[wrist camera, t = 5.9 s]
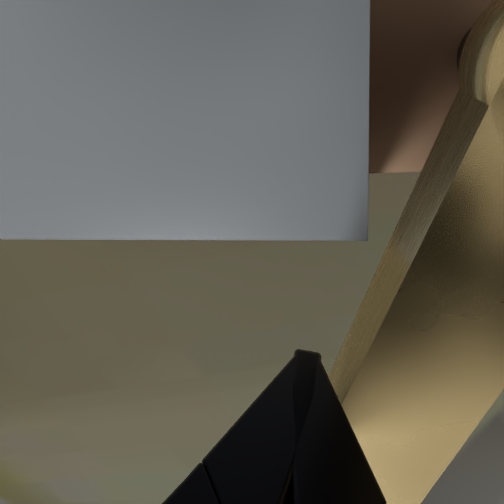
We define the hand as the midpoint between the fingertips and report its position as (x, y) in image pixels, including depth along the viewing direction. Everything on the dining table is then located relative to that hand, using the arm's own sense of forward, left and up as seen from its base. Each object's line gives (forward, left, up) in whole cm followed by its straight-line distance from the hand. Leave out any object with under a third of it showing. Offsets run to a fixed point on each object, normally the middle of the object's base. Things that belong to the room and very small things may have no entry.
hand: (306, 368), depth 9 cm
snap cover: (-5, -3, -4) cm, 8 cm away
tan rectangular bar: (-2, +2, -1) cm, 3 cm away
